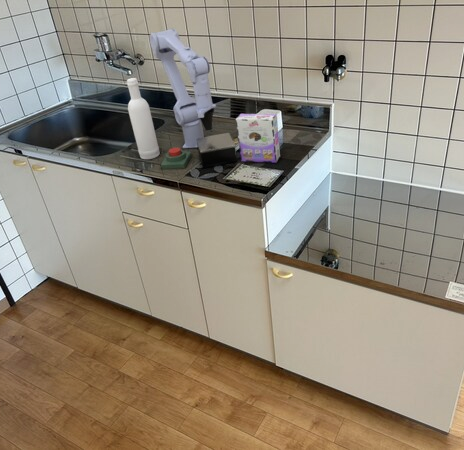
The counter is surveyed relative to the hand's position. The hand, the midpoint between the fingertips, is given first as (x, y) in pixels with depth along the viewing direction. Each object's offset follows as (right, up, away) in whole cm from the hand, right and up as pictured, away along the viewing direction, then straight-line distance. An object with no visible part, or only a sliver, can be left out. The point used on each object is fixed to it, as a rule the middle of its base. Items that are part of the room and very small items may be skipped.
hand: (208, 129), depth 173 cm
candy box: (+19, -11, -1) cm, 22 cm away
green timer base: (-12, -11, +4) cm, 17 cm away
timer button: (-13, -9, +2) cm, 16 cm away
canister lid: (+3, -5, -1) cm, 6 cm away
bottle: (-24, -8, +12) cm, 28 cm away
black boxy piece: (+3, -10, +3) cm, 11 cm away
